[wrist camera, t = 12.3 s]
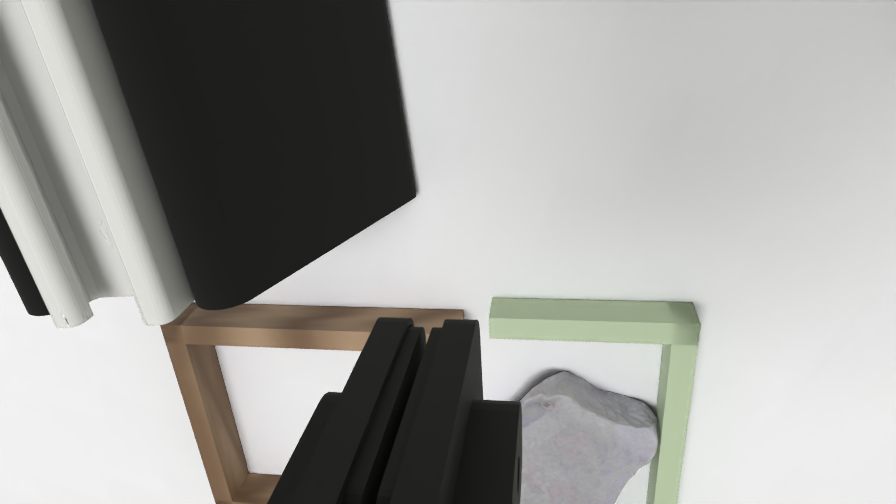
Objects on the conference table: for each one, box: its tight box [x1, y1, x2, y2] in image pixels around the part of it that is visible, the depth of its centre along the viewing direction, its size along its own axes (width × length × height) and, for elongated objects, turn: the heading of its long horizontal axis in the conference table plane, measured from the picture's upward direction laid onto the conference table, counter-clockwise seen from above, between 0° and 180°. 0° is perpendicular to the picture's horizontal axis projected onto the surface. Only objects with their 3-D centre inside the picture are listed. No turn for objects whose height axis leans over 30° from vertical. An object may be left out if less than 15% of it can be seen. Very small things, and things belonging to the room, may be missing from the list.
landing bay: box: [489, 298, 701, 504], centre depth 43 cm, size 12×20×2 cm, turn 4°
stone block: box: [519, 371, 658, 504], centre depth 44 cm, size 12×5×10 cm
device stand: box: [0, 0, 416, 328], centre depth 30 cm, size 22×22×15 cm
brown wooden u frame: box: [160, 303, 464, 504], centre depth 46 cm, size 20×18×3 cm
